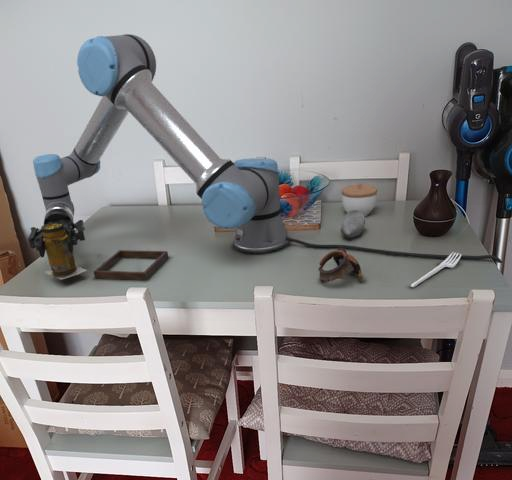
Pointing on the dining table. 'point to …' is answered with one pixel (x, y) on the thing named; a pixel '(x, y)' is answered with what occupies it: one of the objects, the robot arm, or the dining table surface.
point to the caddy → (124, 275)
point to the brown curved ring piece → (339, 265)
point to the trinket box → (359, 198)
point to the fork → (439, 268)
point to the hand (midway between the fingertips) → (55, 249)
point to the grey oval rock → (353, 223)
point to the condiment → (59, 252)
